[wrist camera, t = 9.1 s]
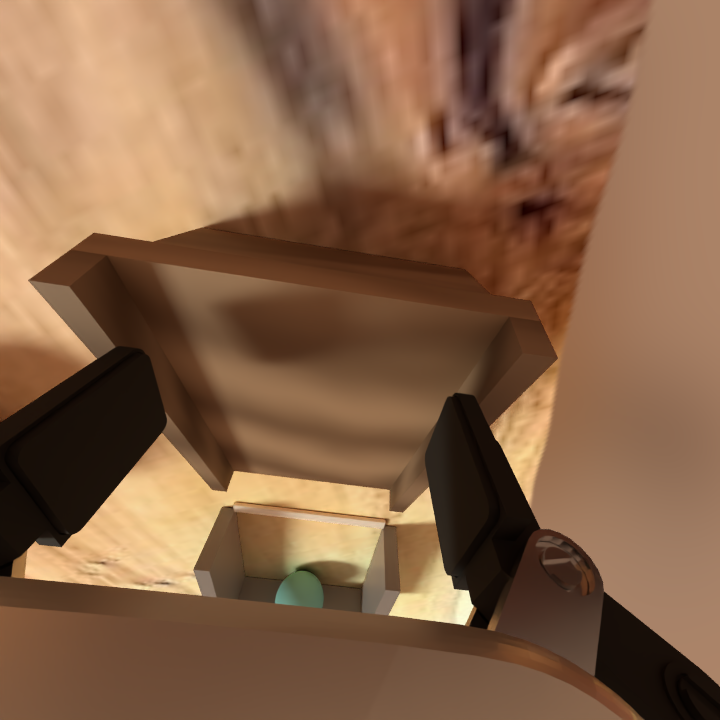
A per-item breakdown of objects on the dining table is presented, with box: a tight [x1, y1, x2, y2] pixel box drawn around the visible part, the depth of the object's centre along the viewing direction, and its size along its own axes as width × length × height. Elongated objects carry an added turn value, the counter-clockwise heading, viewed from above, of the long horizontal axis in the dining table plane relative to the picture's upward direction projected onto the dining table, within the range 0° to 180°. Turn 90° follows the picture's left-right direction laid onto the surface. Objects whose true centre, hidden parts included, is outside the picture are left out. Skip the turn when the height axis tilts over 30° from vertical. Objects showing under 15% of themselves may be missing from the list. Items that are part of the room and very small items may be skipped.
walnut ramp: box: [28, 228, 558, 512], centre depth 15 cm, size 18×14×8 cm
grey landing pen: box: [194, 502, 400, 615], centre depth 28 cm, size 16×16×5 cm
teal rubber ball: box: [275, 571, 324, 608], centre depth 31 cm, size 5×5×5 cm
